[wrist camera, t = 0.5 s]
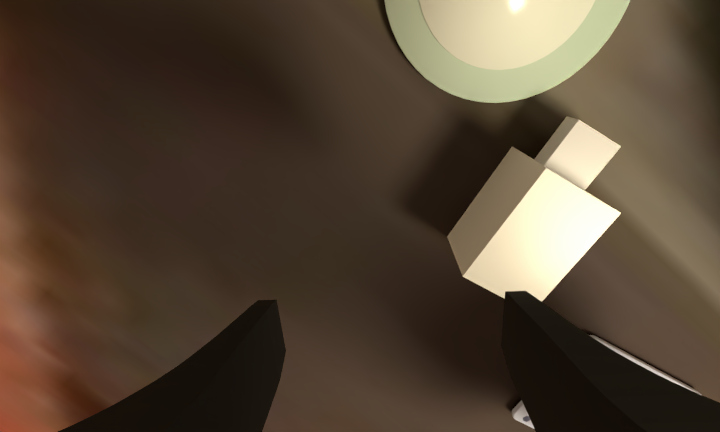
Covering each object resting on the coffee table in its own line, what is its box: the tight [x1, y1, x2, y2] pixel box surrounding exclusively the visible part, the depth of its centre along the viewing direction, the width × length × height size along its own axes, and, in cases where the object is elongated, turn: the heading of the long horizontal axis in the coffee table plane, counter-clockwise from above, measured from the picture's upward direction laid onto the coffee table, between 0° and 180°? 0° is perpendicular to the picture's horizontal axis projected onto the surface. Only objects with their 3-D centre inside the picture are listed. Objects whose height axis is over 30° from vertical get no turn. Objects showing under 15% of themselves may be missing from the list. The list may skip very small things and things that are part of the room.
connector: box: [447, 116, 621, 302], centre depth 19 cm, size 8×4×4 cm, turn 151°
